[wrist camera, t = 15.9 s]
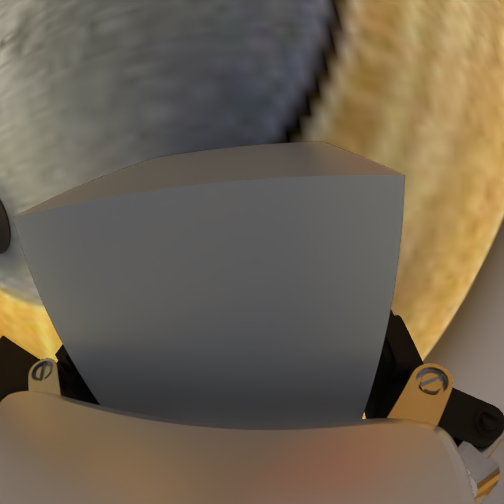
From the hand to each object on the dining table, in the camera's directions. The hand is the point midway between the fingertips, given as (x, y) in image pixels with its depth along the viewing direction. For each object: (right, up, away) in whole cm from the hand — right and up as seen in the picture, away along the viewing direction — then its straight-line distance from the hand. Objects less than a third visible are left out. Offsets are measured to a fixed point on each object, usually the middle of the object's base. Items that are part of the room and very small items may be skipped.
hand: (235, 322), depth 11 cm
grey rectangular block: (0, +1, +4) cm, 4 cm away
